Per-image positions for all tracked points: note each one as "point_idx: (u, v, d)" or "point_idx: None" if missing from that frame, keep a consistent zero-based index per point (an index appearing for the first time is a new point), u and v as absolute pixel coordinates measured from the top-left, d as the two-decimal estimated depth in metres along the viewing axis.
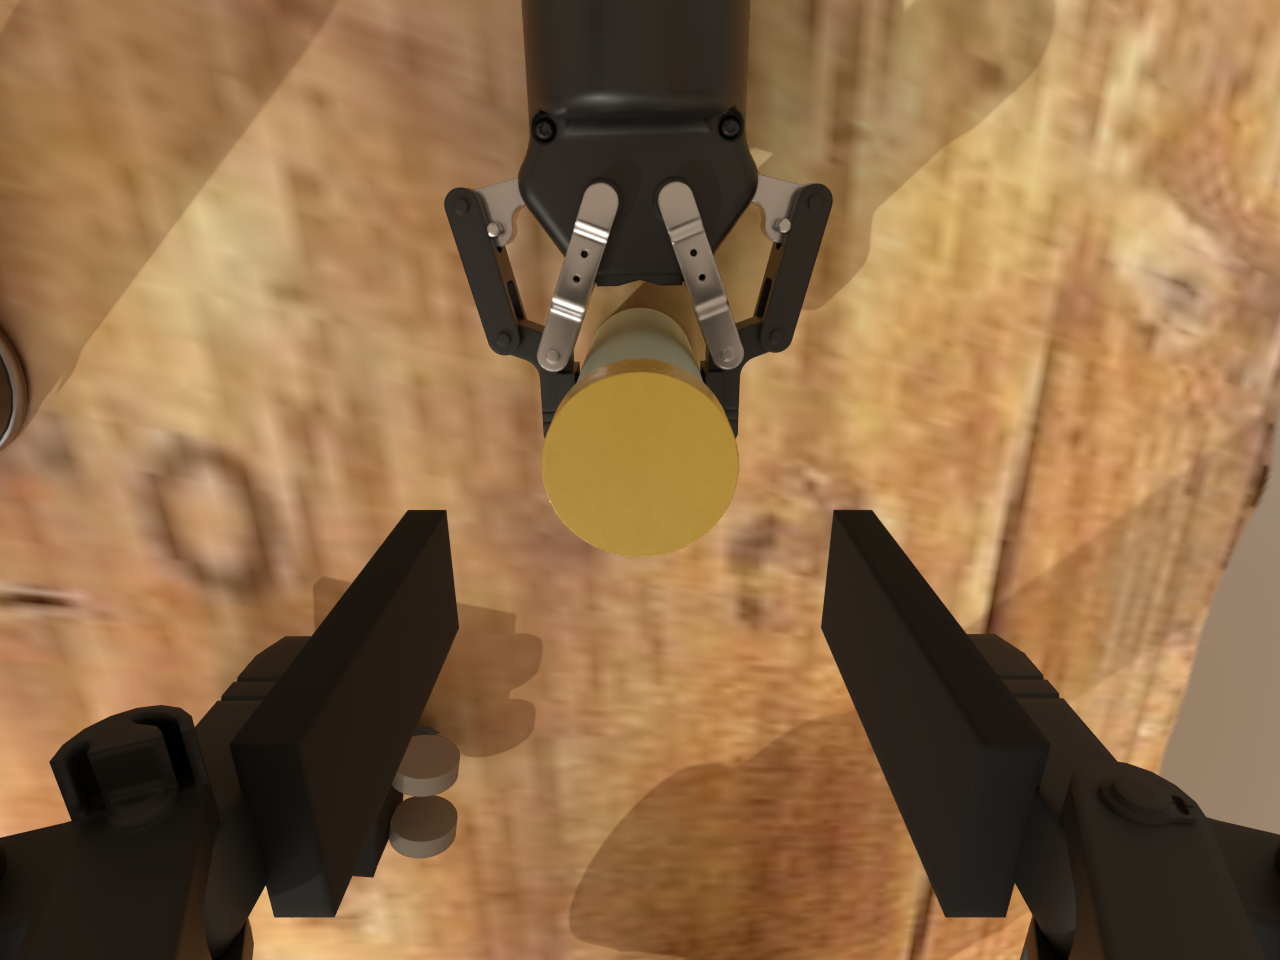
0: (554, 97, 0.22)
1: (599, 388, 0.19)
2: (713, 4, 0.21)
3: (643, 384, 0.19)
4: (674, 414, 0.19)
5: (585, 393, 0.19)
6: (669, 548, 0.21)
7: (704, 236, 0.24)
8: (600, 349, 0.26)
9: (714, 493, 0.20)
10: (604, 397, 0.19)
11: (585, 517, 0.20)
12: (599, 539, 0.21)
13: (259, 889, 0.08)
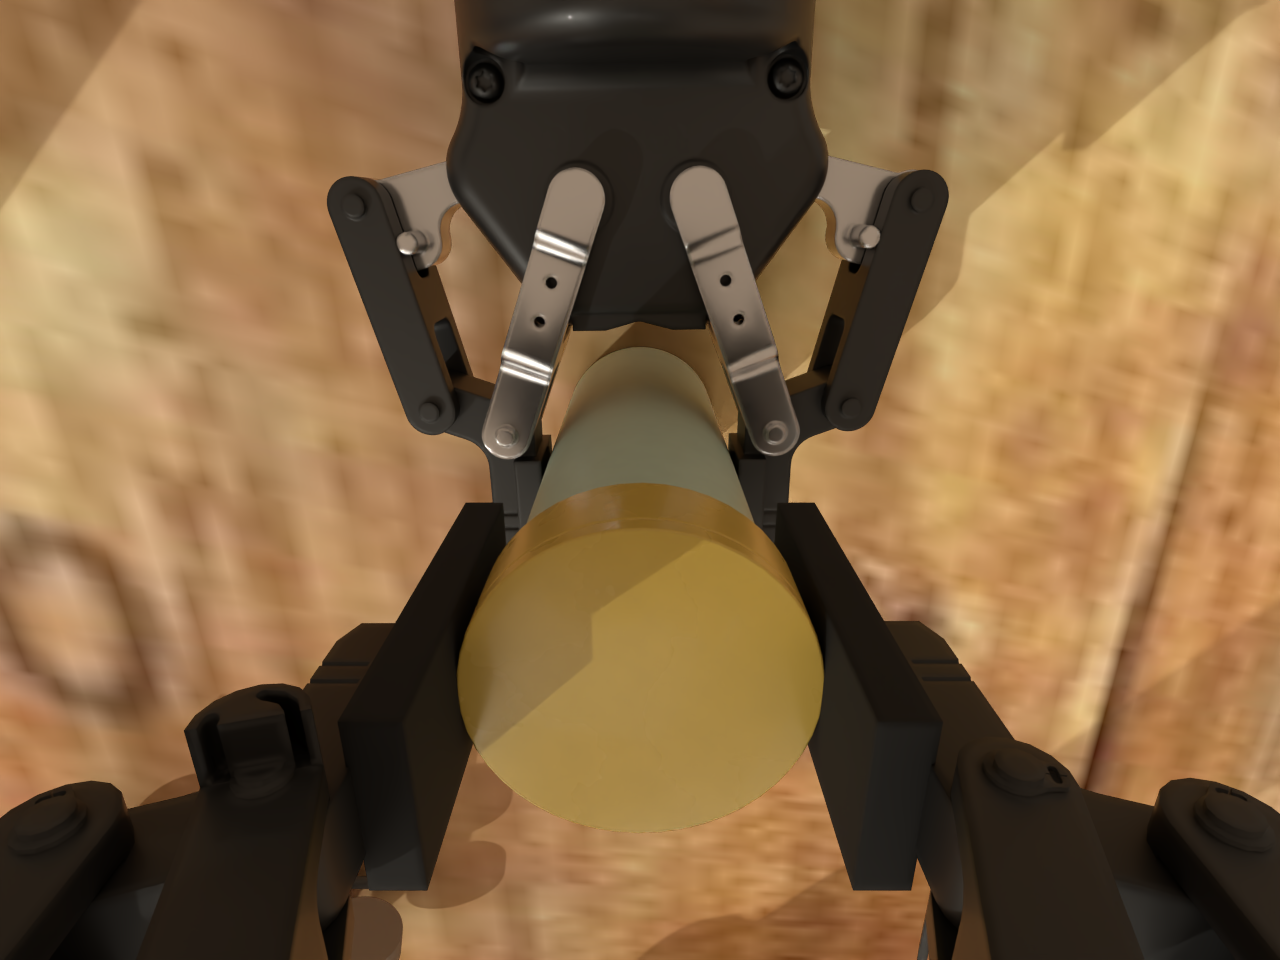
0: (493, 19, 0.13)
1: (561, 558, 0.10)
2: None
3: (647, 551, 0.10)
4: (706, 603, 0.10)
5: (536, 567, 0.10)
6: (693, 819, 0.12)
7: (743, 254, 0.15)
8: (578, 428, 0.17)
9: (777, 734, 0.11)
10: (571, 574, 0.10)
11: (541, 772, 0.11)
12: (567, 806, 0.12)
13: (359, 863, 0.09)
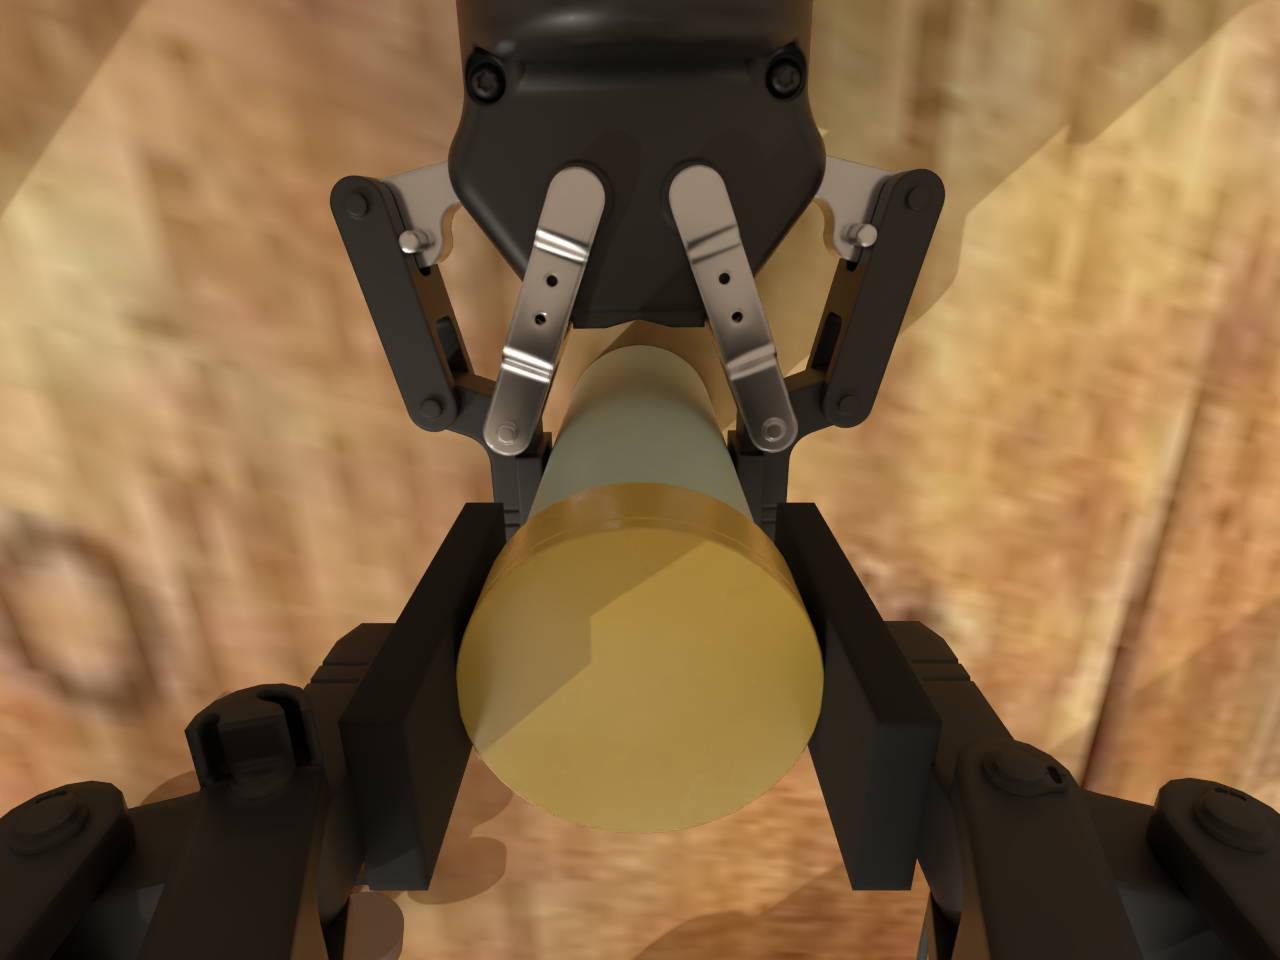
0: (494, 20, 0.13)
1: (553, 805, 0.11)
2: None
3: (505, 758, 0.11)
4: (517, 697, 0.11)
5: (573, 816, 0.12)
6: (759, 575, 0.10)
7: (742, 253, 0.15)
8: (579, 425, 0.17)
9: (605, 566, 0.10)
10: (561, 794, 0.11)
11: (776, 726, 0.11)
12: (805, 688, 0.11)
13: (359, 863, 0.09)
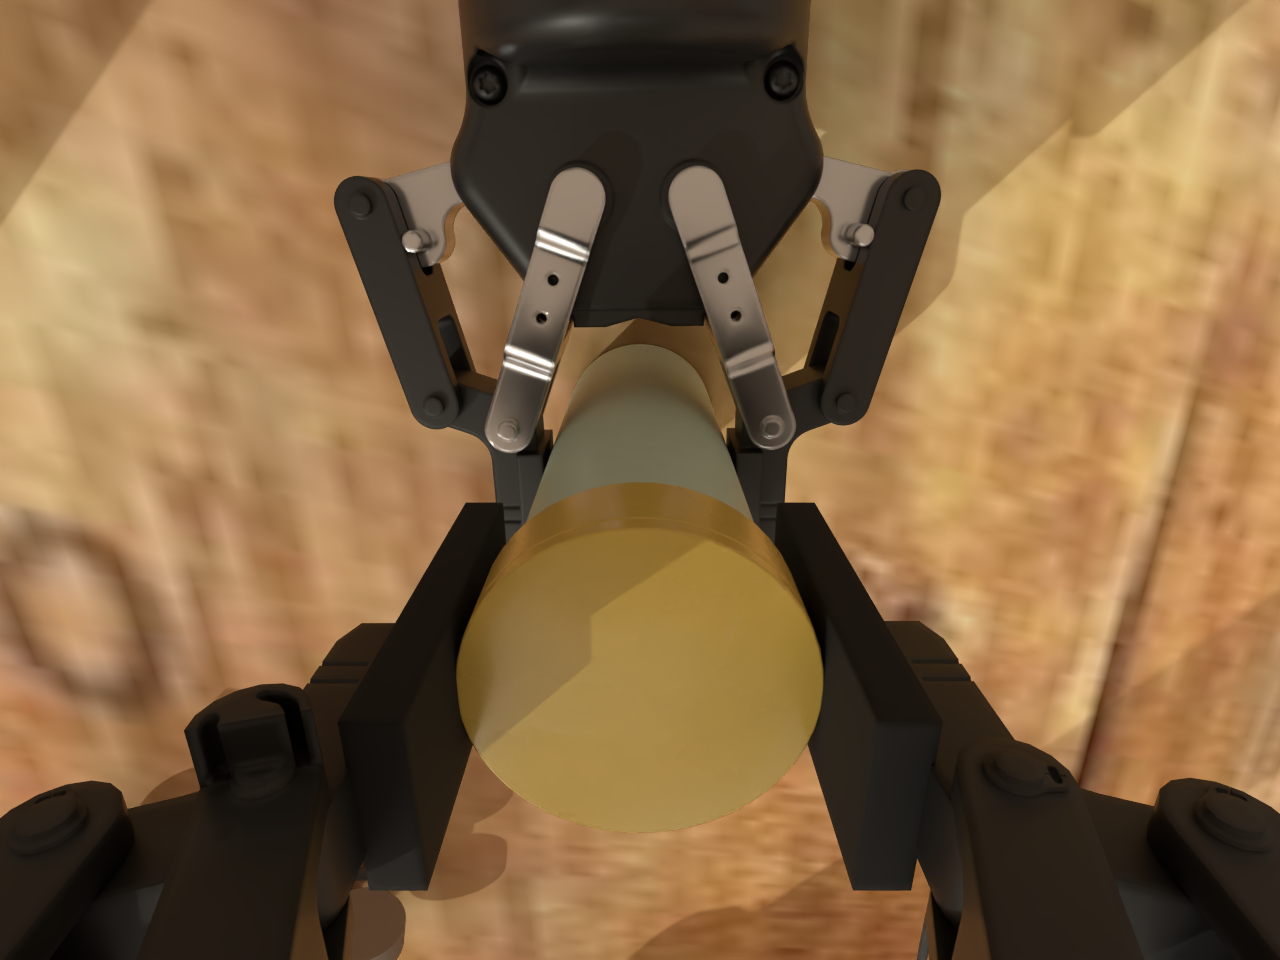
0: (496, 23, 0.13)
1: (809, 699, 0.11)
2: None
3: (775, 756, 0.11)
4: (702, 776, 0.11)
5: (814, 677, 0.11)
6: (464, 674, 0.11)
7: (740, 252, 0.16)
8: (579, 422, 0.17)
9: (538, 775, 0.11)
10: (790, 698, 0.11)
11: (596, 574, 0.10)
12: (538, 575, 0.10)
13: (359, 863, 0.09)
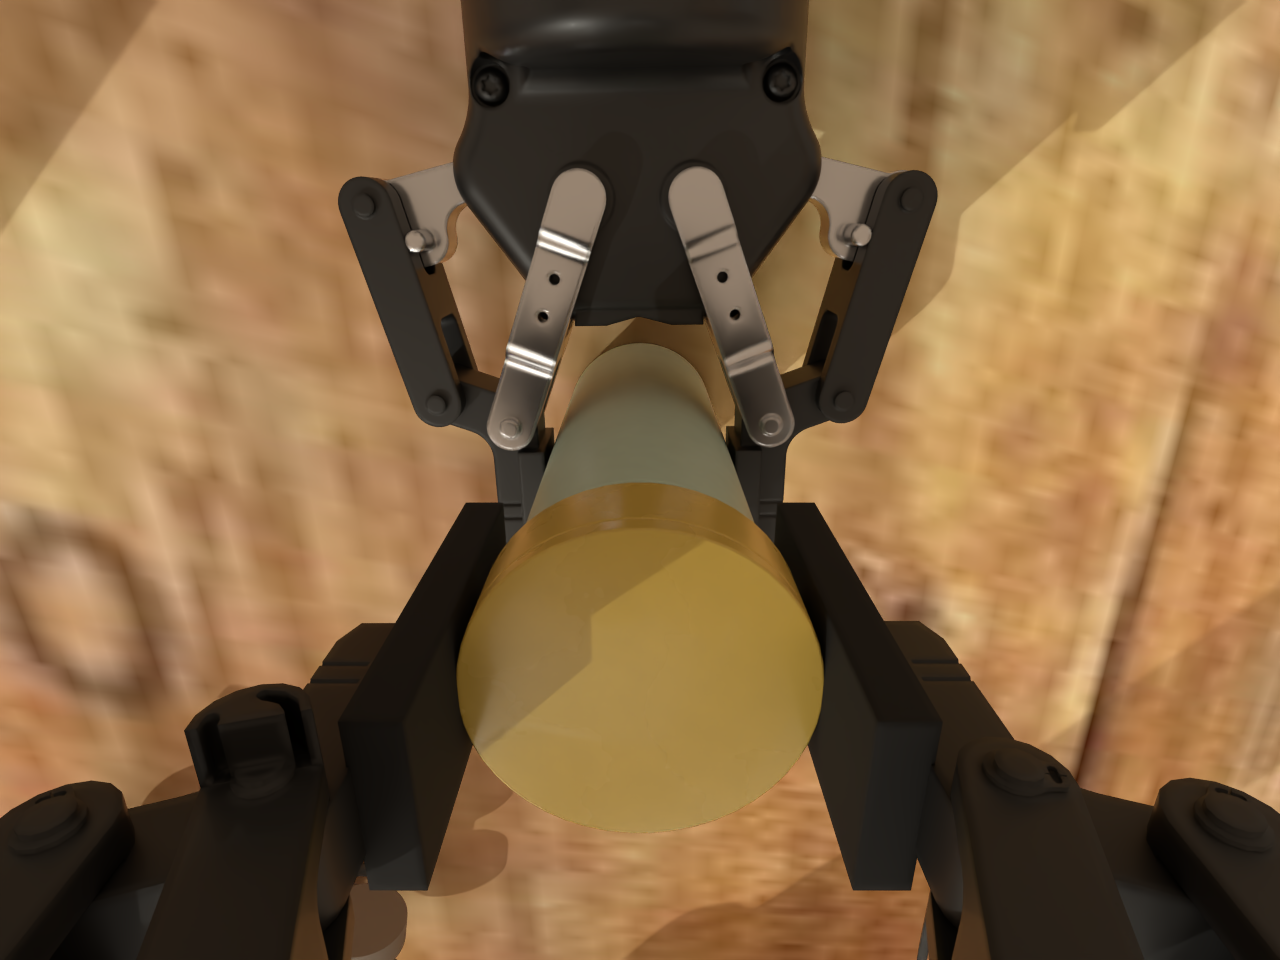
0: (499, 26, 0.13)
1: (548, 564, 0.10)
2: None
3: (632, 551, 0.10)
4: (697, 599, 0.10)
5: (523, 575, 0.10)
6: (705, 816, 0.12)
7: (739, 252, 0.16)
8: (580, 420, 0.17)
9: (781, 725, 0.11)
10: (559, 579, 0.10)
11: (548, 779, 0.11)
12: (578, 811, 0.12)
13: (359, 863, 0.09)
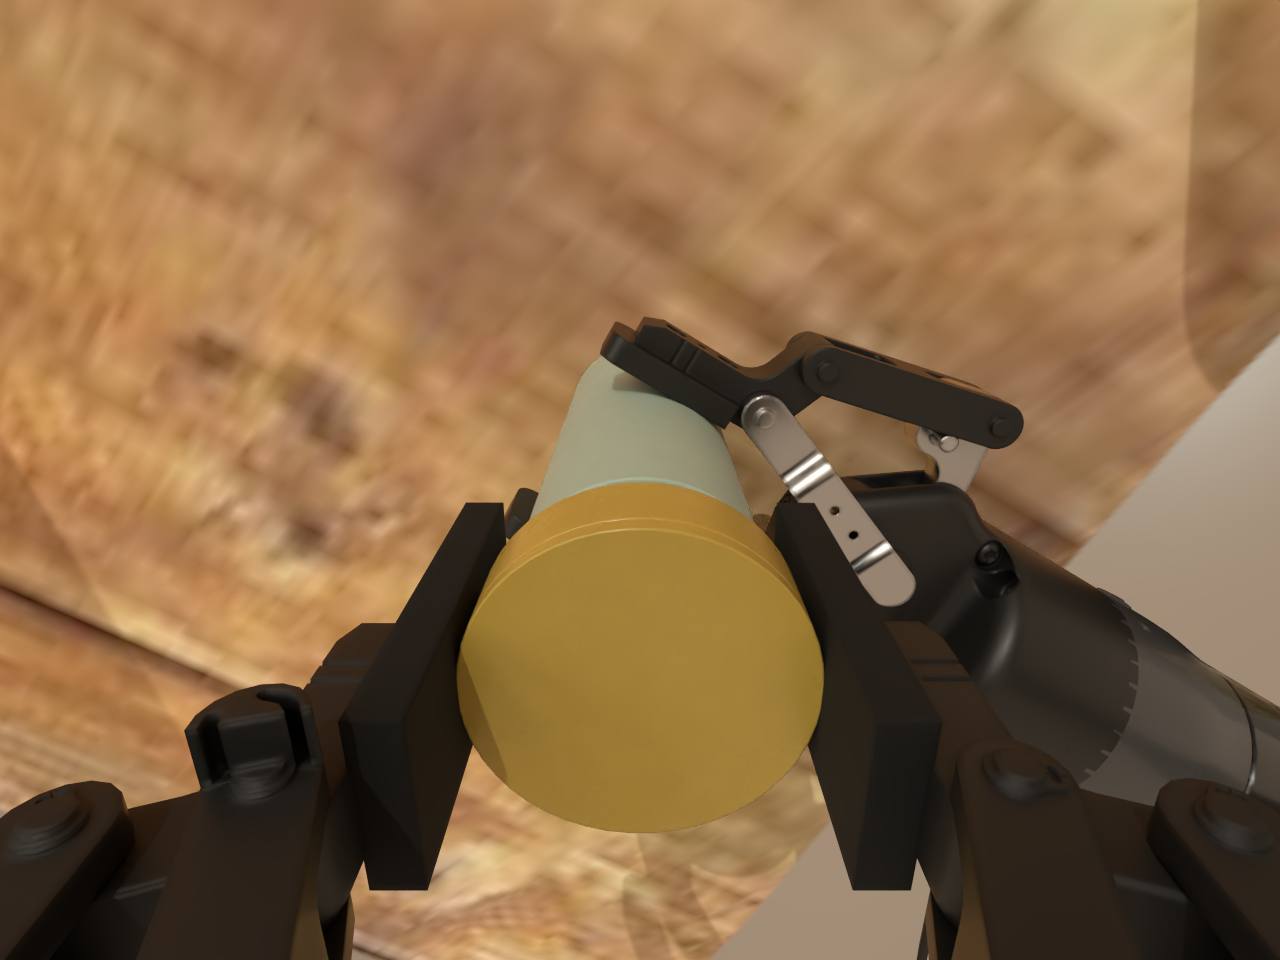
0: (1026, 615, 0.18)
1: (548, 564, 0.10)
2: None
3: (632, 551, 0.10)
4: (697, 599, 0.10)
5: (522, 575, 0.10)
6: (705, 816, 0.12)
7: None
8: None
9: (781, 725, 0.11)
10: (558, 579, 0.10)
11: (548, 779, 0.11)
12: (578, 810, 0.12)
13: (358, 863, 0.09)
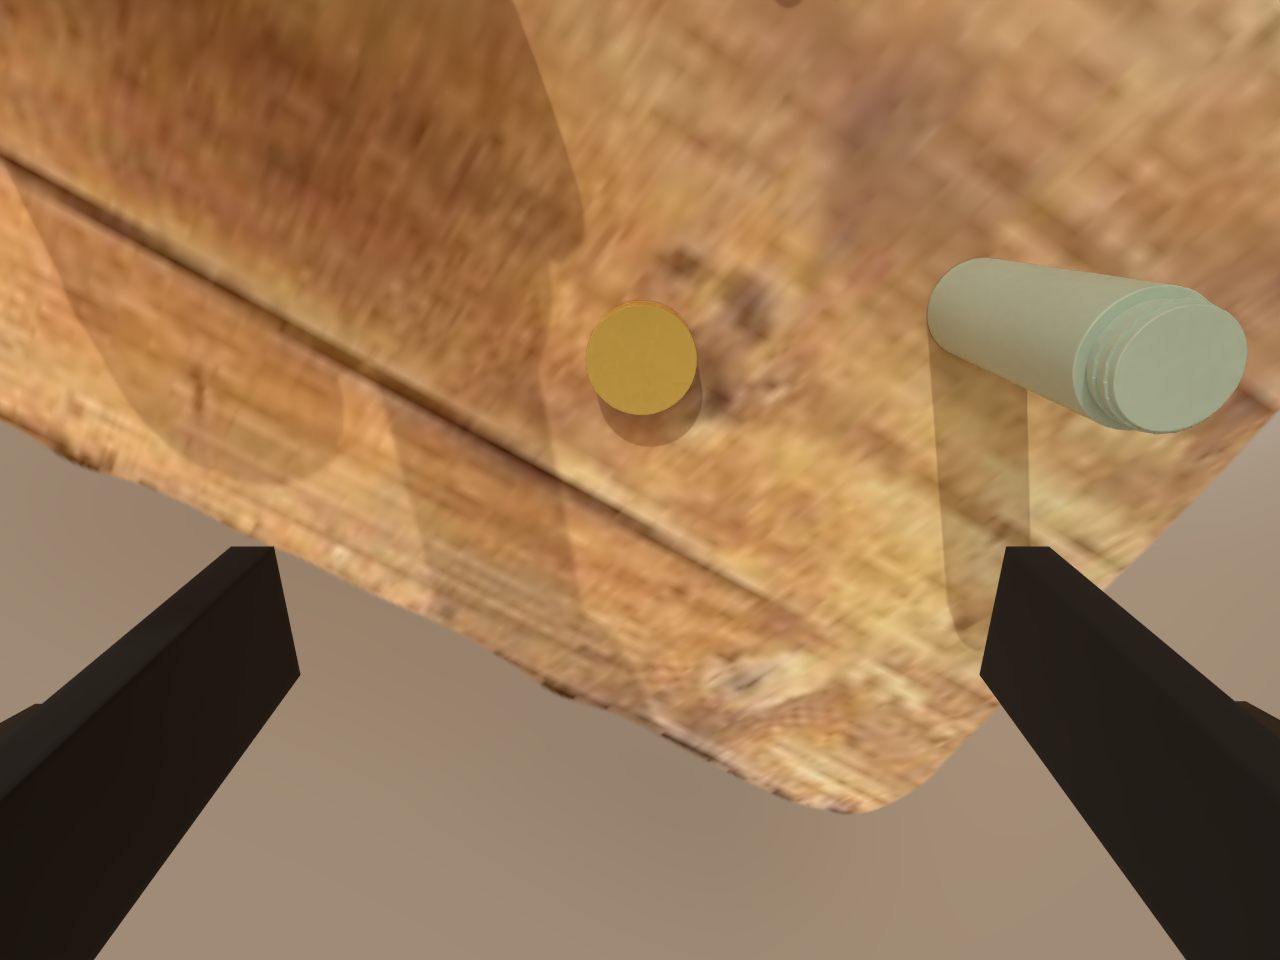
0: None
1: (615, 316, 0.35)
2: None
3: (639, 312, 0.35)
4: (657, 327, 0.35)
5: (607, 320, 0.35)
6: (662, 408, 0.36)
7: None
8: None
9: (684, 372, 0.36)
10: (618, 321, 0.35)
11: (612, 393, 0.36)
12: (621, 406, 0.36)
13: None
